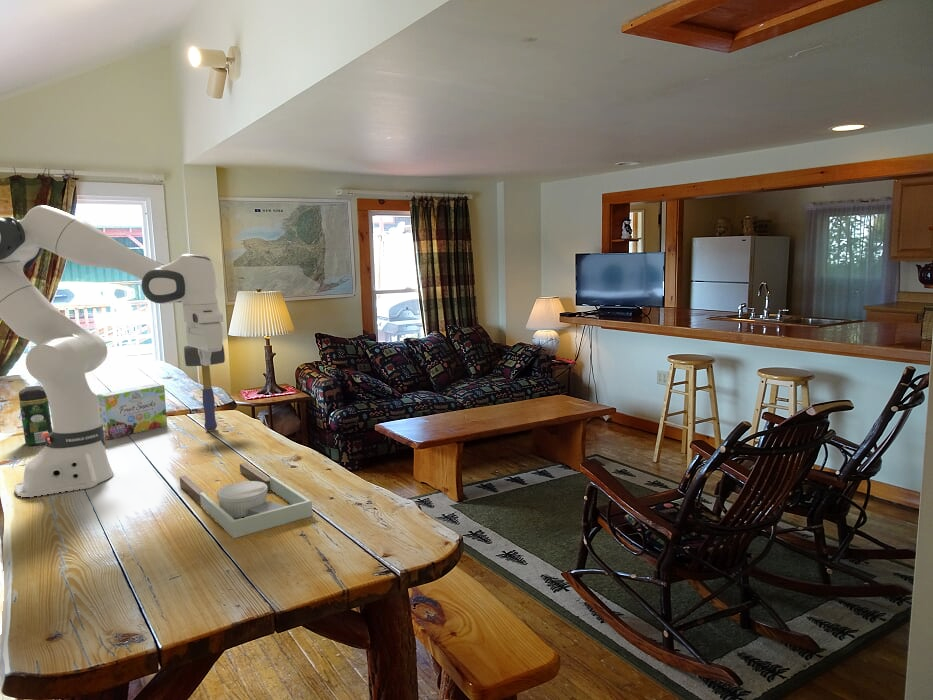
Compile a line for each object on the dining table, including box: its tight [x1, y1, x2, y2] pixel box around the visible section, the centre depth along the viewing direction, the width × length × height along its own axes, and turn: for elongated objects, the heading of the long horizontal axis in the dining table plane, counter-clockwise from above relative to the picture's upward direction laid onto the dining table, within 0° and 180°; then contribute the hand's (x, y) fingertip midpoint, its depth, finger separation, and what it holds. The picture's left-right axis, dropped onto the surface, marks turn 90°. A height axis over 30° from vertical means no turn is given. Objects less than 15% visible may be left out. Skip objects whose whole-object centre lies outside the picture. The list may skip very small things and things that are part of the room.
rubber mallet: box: [183, 345, 226, 432], centre depth 223 cm, size 12×8×30 cm, turn 117°
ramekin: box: [216, 480, 269, 519], centre depth 152 cm, size 11×11×5 cm
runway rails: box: [179, 462, 271, 505], centre depth 168 cm, size 17×19×2 cm
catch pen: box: [200, 475, 313, 539], centre depth 151 cm, size 18×23×4 cm
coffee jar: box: [18, 385, 53, 446], centre depth 216 cm, size 10×8×19 cm
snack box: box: [96, 383, 168, 440], centre depth 226 cm, size 21×6×15 cm, turn 148°
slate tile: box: [248, 500, 287, 516], centre depth 148 cm, size 6×6×2 cm
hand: (205, 365), depth 180 cm, fingers closed
